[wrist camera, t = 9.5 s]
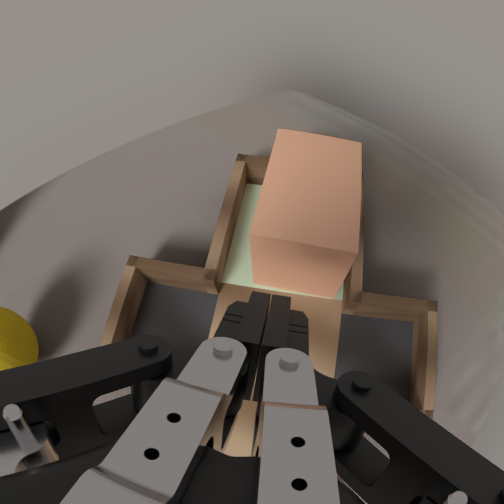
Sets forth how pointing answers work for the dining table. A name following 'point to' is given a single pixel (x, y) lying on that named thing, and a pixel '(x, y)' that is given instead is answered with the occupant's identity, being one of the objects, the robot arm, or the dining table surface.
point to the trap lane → (315, 308)
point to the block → (307, 214)
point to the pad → (240, 253)
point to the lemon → (16, 341)
